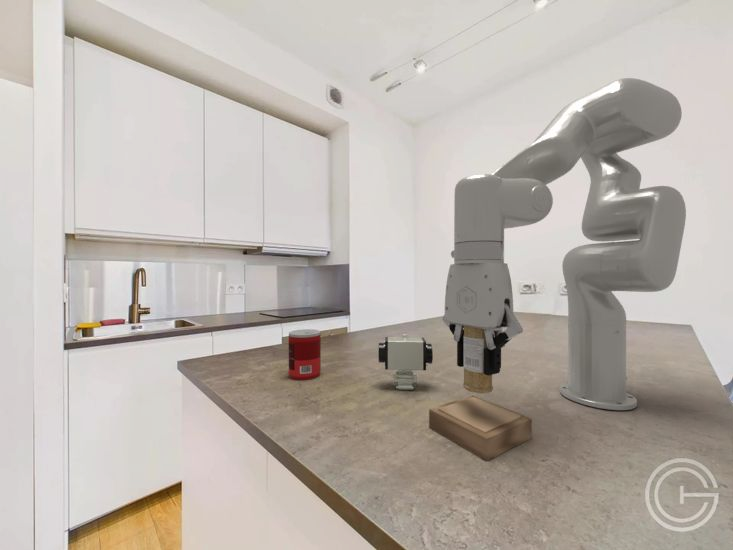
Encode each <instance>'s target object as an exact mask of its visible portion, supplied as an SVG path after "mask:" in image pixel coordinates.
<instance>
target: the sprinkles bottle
mask: <svg viewBox="0 0 733 550" xmlns="http://www.w3.org/2000/svg"><path fill="white" fill-rule="evenodd" d="M463 330H464V366H463V388H464V390H467V391H468V392H471V393H475V394H489V393H491V392H492V391H493V389H494V387H493V375H489V376H488V375H485V374H484V349H485V348H488V347H487V342H486V337H485V332H484V329H479V328H473V327H467V326H464V328H463Z"/></svg>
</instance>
